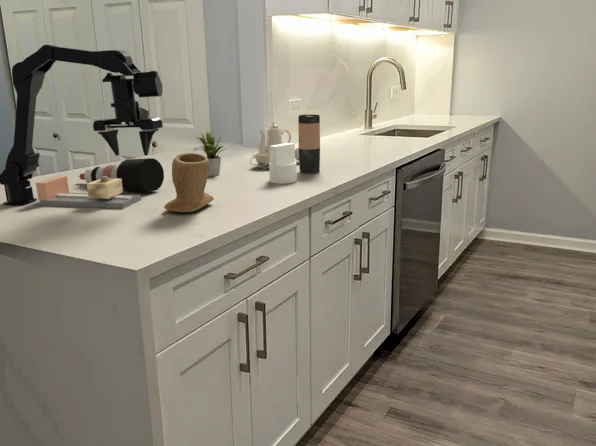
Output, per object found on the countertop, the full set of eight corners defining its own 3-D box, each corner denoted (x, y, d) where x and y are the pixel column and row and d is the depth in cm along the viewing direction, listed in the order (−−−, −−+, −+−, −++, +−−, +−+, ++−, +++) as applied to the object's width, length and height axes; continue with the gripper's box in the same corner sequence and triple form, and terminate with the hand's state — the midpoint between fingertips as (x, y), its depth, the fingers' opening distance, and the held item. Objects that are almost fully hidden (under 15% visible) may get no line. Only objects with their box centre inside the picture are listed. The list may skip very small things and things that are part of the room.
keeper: (88, 197, 151) (86, 179, 149) (104, 191, 158) (102, 174, 157) (108, 198, 150) (106, 180, 148) (122, 192, 157) (120, 174, 156)
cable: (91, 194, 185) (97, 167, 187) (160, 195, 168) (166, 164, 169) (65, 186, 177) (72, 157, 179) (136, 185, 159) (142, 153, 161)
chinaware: (263, 176, 198) (264, 130, 192) (236, 165, 209) (237, 122, 203) (319, 165, 215) (321, 124, 209) (291, 156, 227) (293, 117, 221)
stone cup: (198, 217, 139) (194, 159, 134) (158, 214, 142) (153, 157, 138) (225, 203, 152) (222, 150, 148) (188, 200, 156) (184, 148, 152)
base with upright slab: (283, 176, 187) (283, 142, 183) (302, 180, 181) (301, 144, 177) (264, 180, 181) (262, 145, 177) (282, 184, 175) (281, 147, 171)
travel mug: (324, 171, 195) (324, 115, 189) (310, 174, 189) (309, 116, 184) (308, 169, 200) (308, 114, 194) (294, 172, 194) (293, 115, 189)
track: (39, 205, 154) (35, 182, 152) (60, 197, 163) (57, 175, 161) (123, 208, 148) (121, 185, 147) (141, 199, 158) (138, 177, 156)
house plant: (180, 175, 193) (177, 128, 188) (211, 169, 203) (208, 125, 198) (205, 180, 184) (202, 131, 179) (236, 173, 193) (234, 127, 189)
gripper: (169, 95, 152) (175, 150, 157) (111, 97, 157) (119, 151, 162) (148, 98, 142) (155, 157, 146) (87, 100, 147) (96, 157, 152)
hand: (131, 155), depth 152 cm, fingers open, 9 cm apart
